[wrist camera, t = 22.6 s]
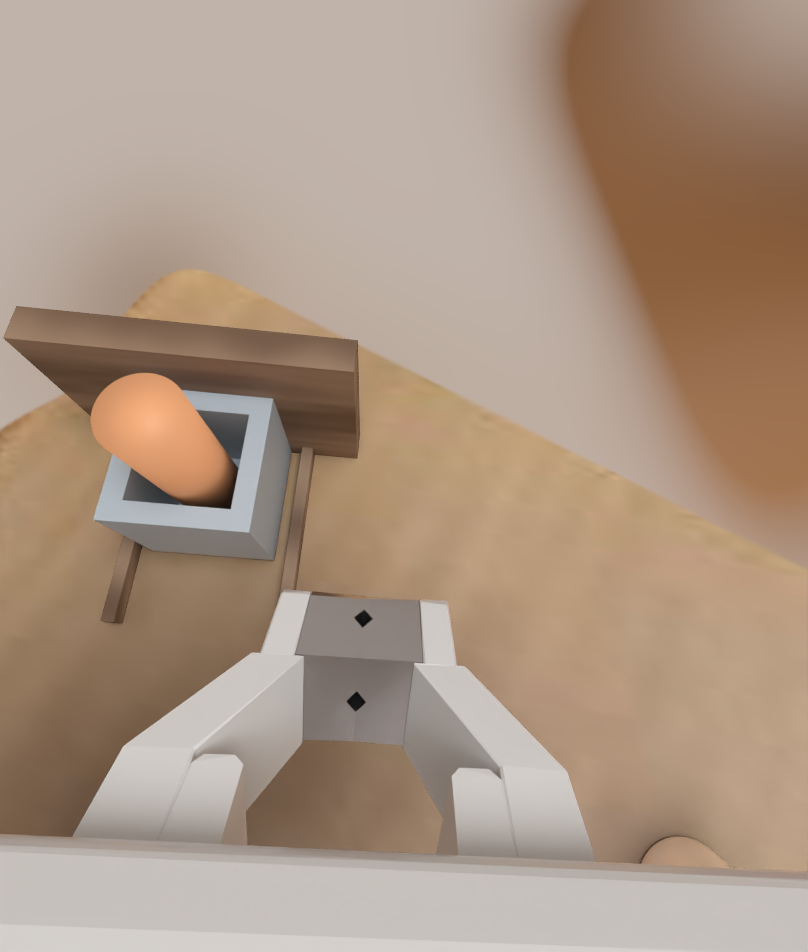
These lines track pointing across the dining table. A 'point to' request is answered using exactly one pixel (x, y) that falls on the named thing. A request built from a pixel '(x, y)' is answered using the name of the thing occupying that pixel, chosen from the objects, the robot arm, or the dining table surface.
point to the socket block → (202, 528)
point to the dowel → (164, 440)
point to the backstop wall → (205, 389)
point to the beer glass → (682, 853)
